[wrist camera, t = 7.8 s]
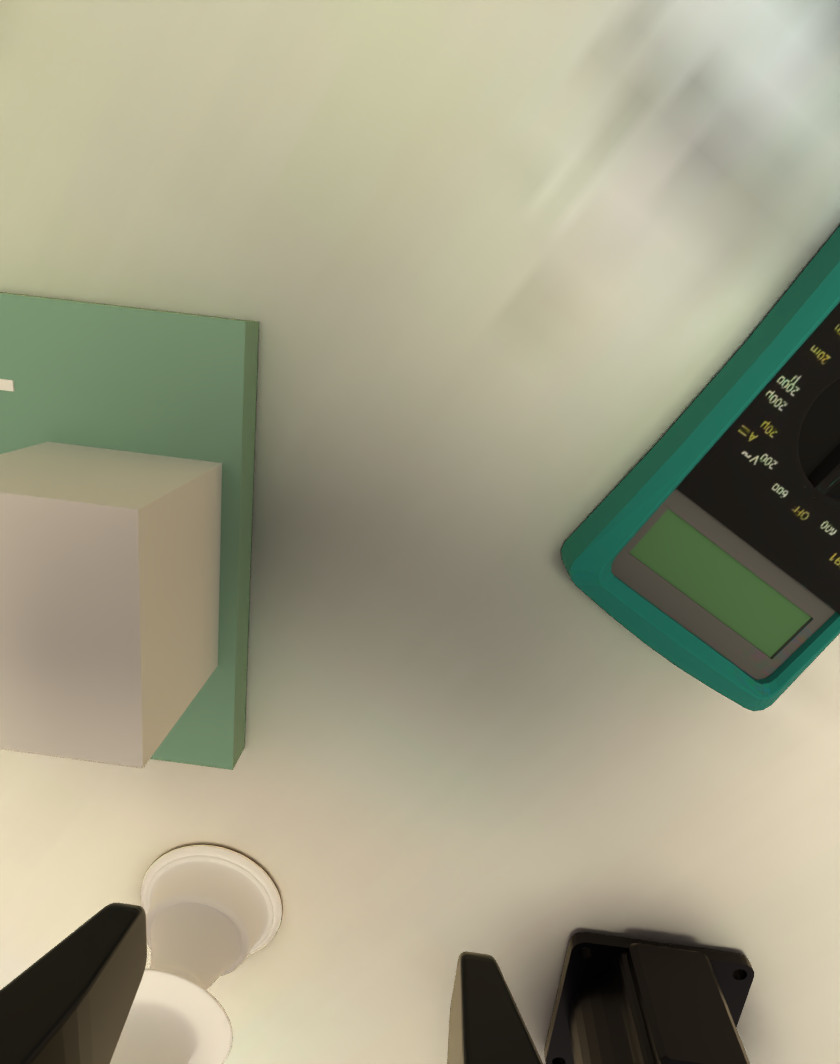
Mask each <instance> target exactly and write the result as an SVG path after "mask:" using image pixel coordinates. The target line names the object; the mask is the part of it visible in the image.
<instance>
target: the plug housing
mask: <svg viewBox="0 0 840 1064" xmlns="http://www.w3.org/2000/svg"><path fill="white" fill-rule="evenodd" d="M221 490H222V463H218V462H210V461H202V460H194V459H186V458H177V457H169V456H161V455H153V454H145V453H137V452H129V451H120V450H112V449H104V448H96V447H88V446H80V445H72V444H63V443H55V442H44V443H41V444H37V445H33V446H29V447H26V448H22V449H18V450H15V451H11V452H7V453H4V454H0V749H4V750H11V751H18V752H26V753H33V754H41V755H48V756H55V757H63V758H70V759H77V760H85V761H92V762H99V763H107V764H114V765H121V766H129V767H136V768H144V766H145V765H146V763H147V762H148V761H149V759H150V758H151V757H152V755H153V754H154V752H155V751H156V750H157V748H158V747H159V746H160V744H161V743H162V742H163V740H164V739H165V737H166V736H167V735H168V733H169V732H170V731H171V729H172V728H173V726H174V725H175V724H176V722H177V721H178V720H179V718H180V717H181V715H182V714H183V713H184V711H185V710H186V709H187V707H188V706H189V705H190V703H191V702H192V700H193V699H194V698H195V696H196V695H197V694H198V692H199V691H200V689H201V688H202V687H203V685H204V684H205V683H206V681H207V680H208V678H209V677H210V676H211V674H212V673H213V672H214V670H215V669H216V667H217V666H218V633H219V585H220V538H221Z"/></svg>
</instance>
